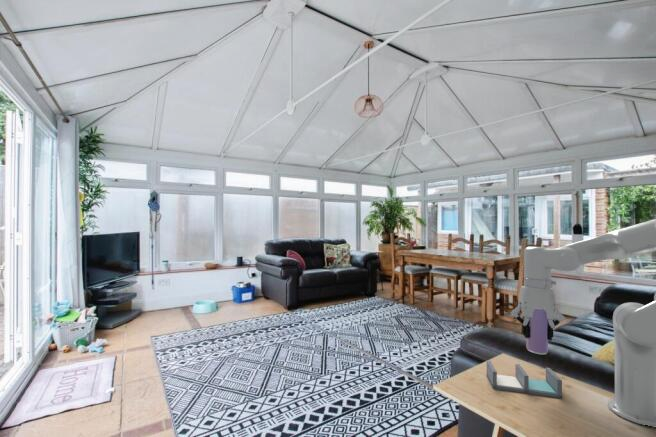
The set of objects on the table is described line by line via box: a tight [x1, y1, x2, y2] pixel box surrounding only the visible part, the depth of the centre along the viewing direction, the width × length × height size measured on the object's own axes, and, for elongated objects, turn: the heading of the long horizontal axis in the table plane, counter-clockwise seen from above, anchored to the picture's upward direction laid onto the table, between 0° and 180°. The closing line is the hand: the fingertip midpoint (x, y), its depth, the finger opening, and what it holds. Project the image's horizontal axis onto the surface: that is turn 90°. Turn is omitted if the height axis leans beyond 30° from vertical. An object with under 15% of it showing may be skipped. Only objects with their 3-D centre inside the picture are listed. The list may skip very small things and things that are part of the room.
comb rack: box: [486, 359, 563, 399], centre depth 104 cm, size 20×9×6 cm, turn 74°
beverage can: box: [525, 307, 549, 355], centre depth 103 cm, size 6×6×15 cm
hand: (537, 337), depth 103 cm, fingers closed on beverage can, 6 cm apart
